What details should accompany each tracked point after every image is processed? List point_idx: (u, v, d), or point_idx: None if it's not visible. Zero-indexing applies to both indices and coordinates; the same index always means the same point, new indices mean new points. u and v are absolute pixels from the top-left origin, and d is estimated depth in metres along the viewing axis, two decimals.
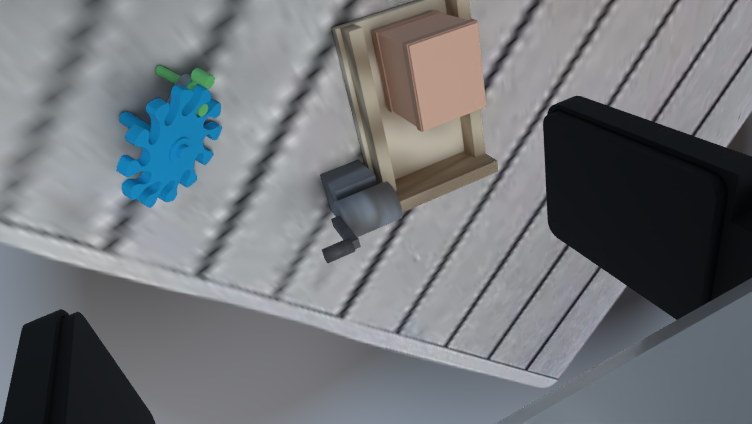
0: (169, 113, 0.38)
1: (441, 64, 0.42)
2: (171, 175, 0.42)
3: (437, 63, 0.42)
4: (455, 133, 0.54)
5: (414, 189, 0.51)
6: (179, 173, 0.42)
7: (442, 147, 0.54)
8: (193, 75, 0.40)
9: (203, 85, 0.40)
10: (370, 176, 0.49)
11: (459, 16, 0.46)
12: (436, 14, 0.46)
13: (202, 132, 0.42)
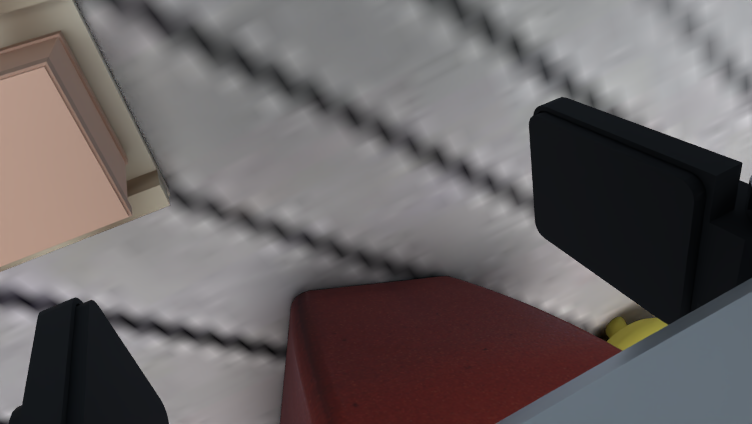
0: None
1: (16, 156, 0.18)
2: None
3: (16, 146, 0.18)
4: None
5: None
6: None
7: None
8: None
9: None
10: None
11: None
12: (121, 155, 0.25)
13: None
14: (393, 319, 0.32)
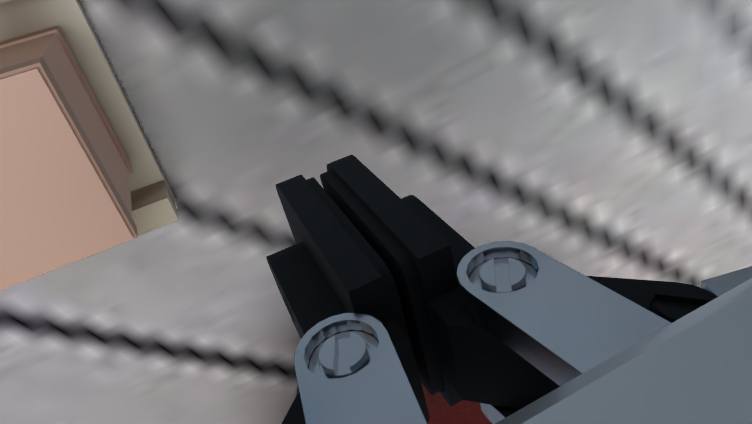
0: None
1: (4, 171, 0.16)
2: None
3: (4, 159, 0.16)
4: None
5: None
6: None
7: None
8: None
9: None
10: None
11: None
12: (124, 165, 0.23)
13: None
14: None
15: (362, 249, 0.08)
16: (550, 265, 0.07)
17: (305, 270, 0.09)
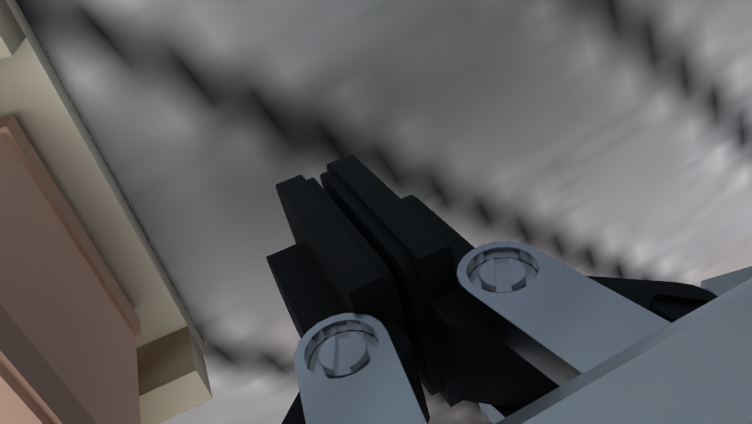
0: None
1: None
2: None
3: None
4: None
5: None
6: None
7: None
8: None
9: None
10: None
11: None
12: (128, 329, 0.14)
13: None
14: None
15: (362, 249, 0.08)
16: (549, 265, 0.07)
17: (305, 271, 0.09)
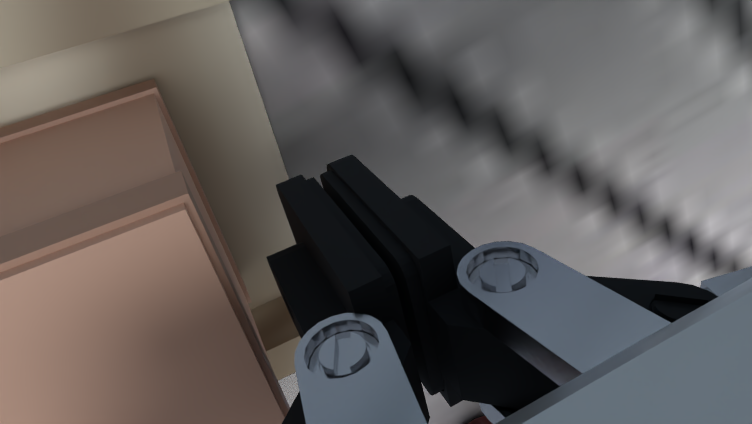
0: None
1: (99, 412, 0.08)
2: None
3: (101, 391, 0.07)
4: None
5: None
6: None
7: None
8: None
9: None
10: None
11: (291, 342, 0.15)
12: (243, 292, 0.14)
13: None
14: None
15: (362, 249, 0.08)
16: (550, 265, 0.07)
17: (305, 270, 0.09)
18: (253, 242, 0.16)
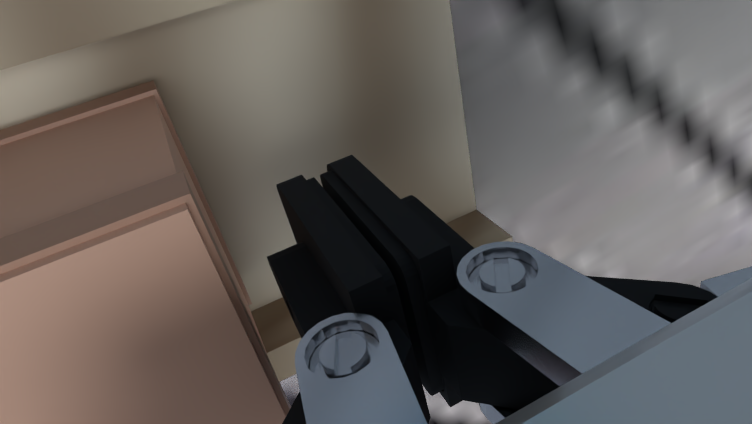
0: None
1: (101, 414, 0.07)
2: None
3: (103, 392, 0.07)
4: None
5: None
6: None
7: None
8: None
9: None
10: None
11: None
12: (243, 294, 0.14)
13: None
14: None
15: (362, 249, 0.08)
16: (549, 265, 0.07)
17: (306, 270, 0.09)
18: (427, 171, 0.17)
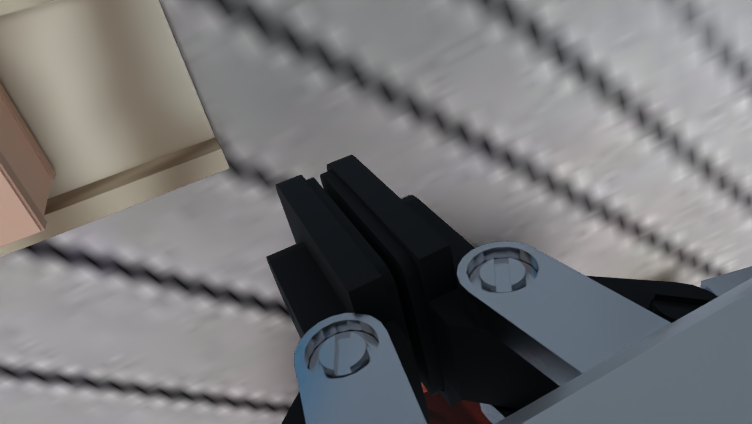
0: None
1: None
2: None
3: None
4: None
5: None
6: None
7: None
8: None
9: None
10: None
11: (191, 161, 0.28)
12: (46, 171, 0.26)
13: None
14: None
15: (362, 249, 0.08)
16: (549, 265, 0.07)
17: (305, 270, 0.09)
18: (171, 110, 0.29)
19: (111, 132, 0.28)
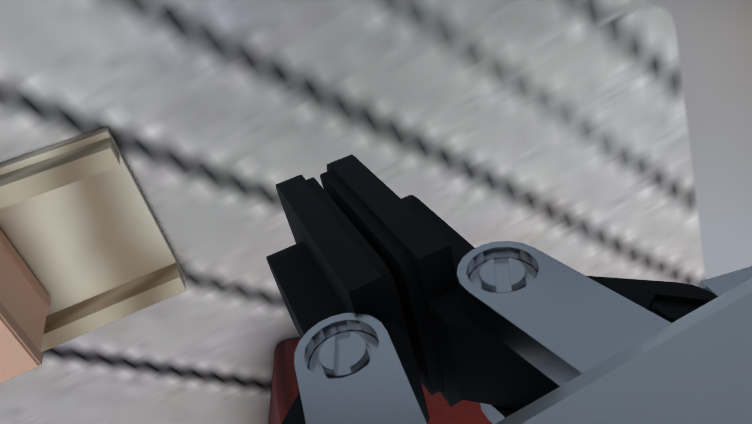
0: None
1: None
2: None
3: None
4: None
5: None
6: None
7: None
8: None
9: None
10: None
11: (155, 288, 0.37)
12: (43, 303, 0.34)
13: None
14: None
15: (362, 249, 0.08)
16: (550, 265, 0.07)
17: (305, 270, 0.09)
18: (141, 247, 0.37)
19: (93, 266, 0.36)
